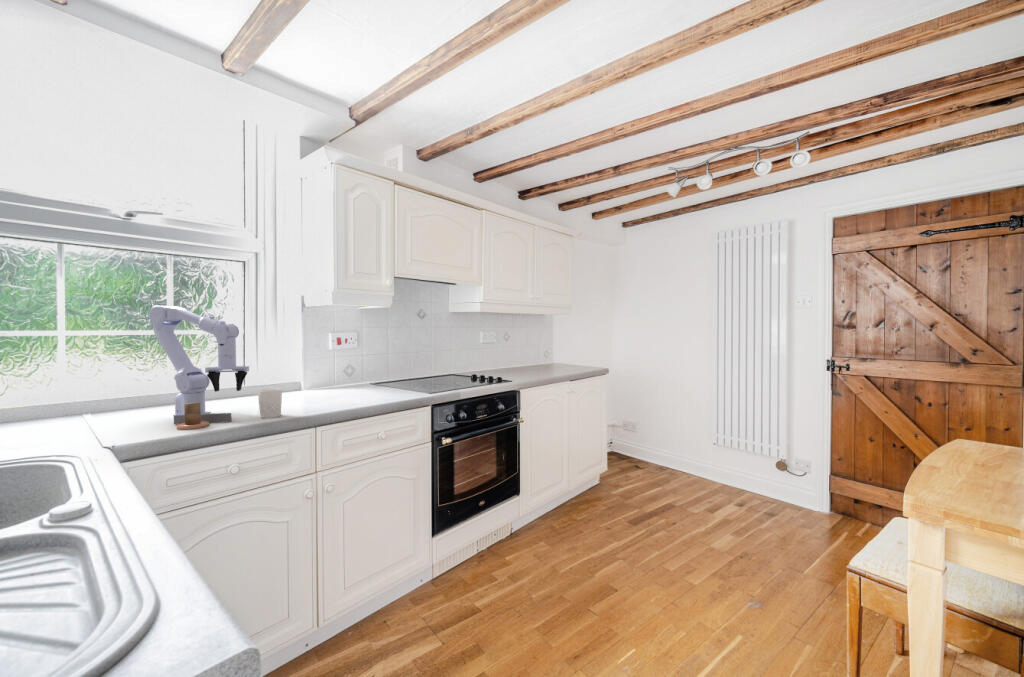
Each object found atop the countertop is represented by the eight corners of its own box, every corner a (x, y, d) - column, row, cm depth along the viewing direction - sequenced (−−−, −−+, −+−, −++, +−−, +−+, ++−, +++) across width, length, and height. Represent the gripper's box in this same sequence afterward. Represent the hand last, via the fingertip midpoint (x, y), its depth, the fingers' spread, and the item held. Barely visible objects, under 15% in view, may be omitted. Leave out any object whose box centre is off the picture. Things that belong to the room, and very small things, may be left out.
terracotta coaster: (169, 429, 145) (169, 426, 145) (194, 423, 154) (194, 420, 154) (191, 430, 143) (191, 427, 143) (215, 424, 152) (215, 421, 152)
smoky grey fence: (173, 424, 153) (173, 415, 153) (175, 423, 154) (175, 415, 154) (230, 421, 156) (230, 413, 156) (231, 421, 157) (231, 412, 157)
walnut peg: (181, 424, 147) (180, 404, 147) (193, 422, 151) (193, 401, 151) (192, 425, 146) (191, 404, 146) (204, 422, 150) (203, 402, 150)
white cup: (253, 417, 163) (253, 391, 163) (273, 413, 170) (272, 388, 170) (268, 419, 160) (267, 392, 160) (287, 415, 167) (286, 389, 167)
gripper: (200, 356, 162) (201, 392, 163) (243, 355, 165) (244, 391, 165) (210, 355, 169) (211, 390, 170) (250, 354, 172) (251, 389, 172)
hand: (227, 390), depth 168 cm, fingers open, 7 cm apart
